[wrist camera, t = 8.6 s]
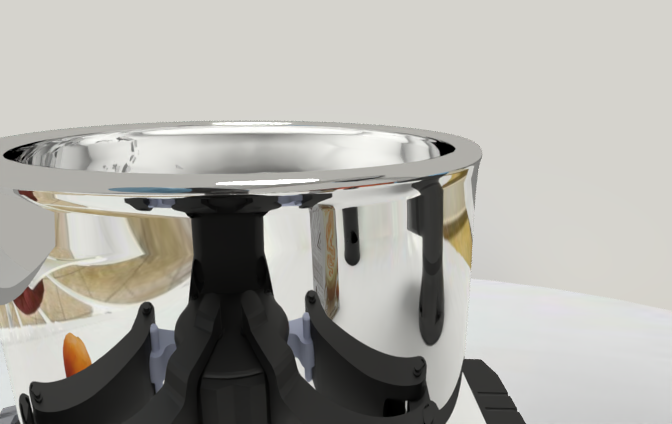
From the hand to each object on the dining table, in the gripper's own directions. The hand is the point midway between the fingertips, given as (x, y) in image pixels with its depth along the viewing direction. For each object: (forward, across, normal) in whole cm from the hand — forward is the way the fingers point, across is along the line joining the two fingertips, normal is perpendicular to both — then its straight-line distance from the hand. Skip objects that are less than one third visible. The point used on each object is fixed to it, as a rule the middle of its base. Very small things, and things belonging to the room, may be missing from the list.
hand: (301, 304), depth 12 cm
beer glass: (-5, 0, -9) cm, 10 cm away
